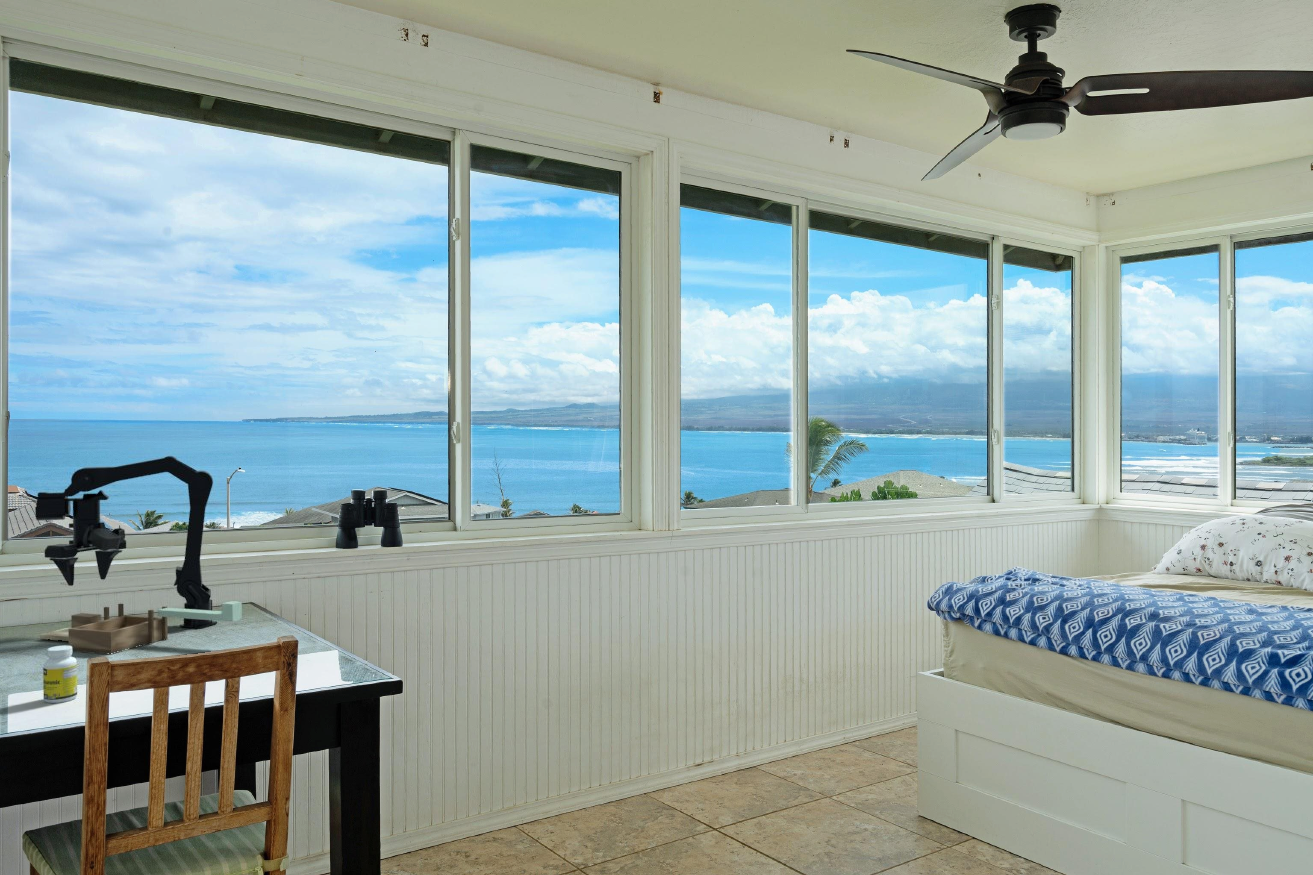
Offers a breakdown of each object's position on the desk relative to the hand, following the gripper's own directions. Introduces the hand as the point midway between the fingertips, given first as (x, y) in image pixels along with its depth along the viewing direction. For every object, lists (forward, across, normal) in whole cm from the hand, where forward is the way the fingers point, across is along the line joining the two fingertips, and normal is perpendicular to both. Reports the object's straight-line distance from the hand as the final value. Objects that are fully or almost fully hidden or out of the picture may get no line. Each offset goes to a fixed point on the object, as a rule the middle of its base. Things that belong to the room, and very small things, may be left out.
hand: (87, 582), depth 231 cm
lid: (+12, 0, 0) cm, 13 cm away
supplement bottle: (+13, -44, -41) cm, 61 cm away
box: (+13, -6, -16) cm, 21 cm away
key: (+7, -1, -34) cm, 35 cm away
